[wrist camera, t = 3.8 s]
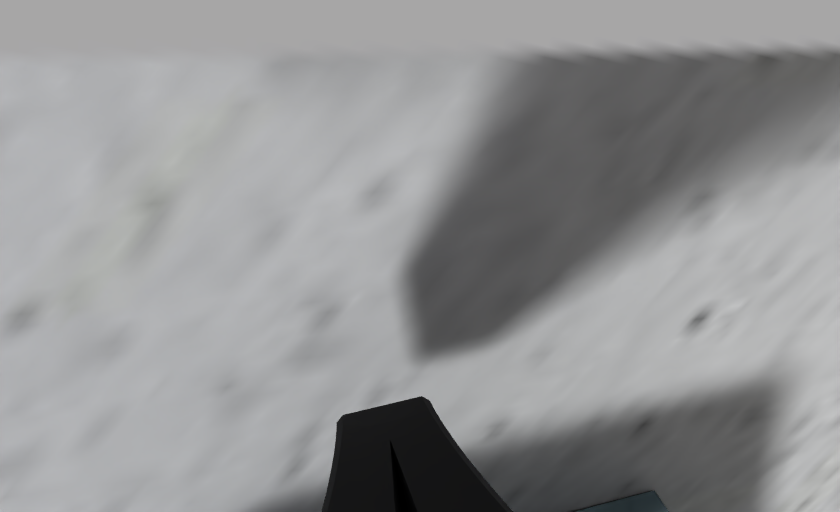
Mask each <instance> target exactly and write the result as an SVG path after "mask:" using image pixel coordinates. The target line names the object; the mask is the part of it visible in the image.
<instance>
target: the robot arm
mask: <svg viewBox="0 0 840 512" xmlns="http://www.w3.org/2000/svg"><path fill="white" fill-rule="evenodd" d="M322 512H513V511H512V510H511V509H510V508H509V507H508V506H507V504H506V503H505V502H504V501H503V500H502V499H501V498H500V496H499V495H498V494H497V493H496V492H495V491H494V489H493V488H492V487H491V486H490V485H489V484H488V482H487V481H486V480H485V479H484V478H483V476H482V475H481V474H480V473H479V472H478V471H477V469H476V468H475V467H474V466H473V464H472V463H471V462H470V460H469V459H468V458H467V457H466V455H465V454H464V453H463V451H462V450H461V449H460V447H459V446H458V445H457V443H456V442H455V440H454V439H453V438H452V436H451V435H450V433H449V432H448V430H447V429H446V428H445V426H444V424H443V423H442V421H441V420H440V418H439V417H438V415H437V413H436V411H435V410H434V408H433V406H432V404H431V402H430V401H429V400H428V399H426V398H424V397H422V396H421V397H417V398H413V399H409V400H404V401H400V402H396V403H392V404H388V405H383V406H379V407H375V408H371V409H367V410H362V411H358V412H354V413H350V414H345V415H343V416H342V417H341V418H340V419H339V421H338V422H337V432H336V442H335V451H334V457H333V463H332V469H331V473H330V478H329V483H328V488H327V493H326V497H325V500H324V504H323V508H322Z"/></svg>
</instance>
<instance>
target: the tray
mask: <svg viewBox="0 0 840 512" xmlns="http://www.w3.org/2000/svg"><path fill="white" fill-rule="evenodd" d="M575 512H669V511H668V510H667V508H666V507H665V505H664V504H663V502H662V501H661V499H660V498H659V497H658V495H657V494H656V492H655V491H651V492H647V493H643V494H639V495H636V496H632V497H628V498H624V499H620V500H617V501H613V502H609V503H605V504H602V505H598V506H594V507H590V508H586V509H583V510H579V511H575Z"/></svg>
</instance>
